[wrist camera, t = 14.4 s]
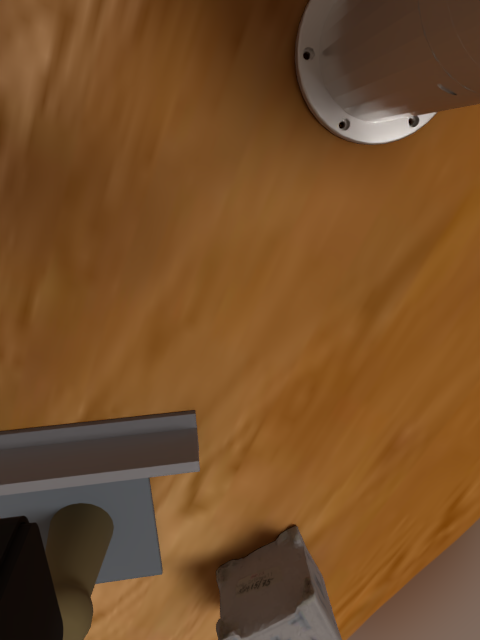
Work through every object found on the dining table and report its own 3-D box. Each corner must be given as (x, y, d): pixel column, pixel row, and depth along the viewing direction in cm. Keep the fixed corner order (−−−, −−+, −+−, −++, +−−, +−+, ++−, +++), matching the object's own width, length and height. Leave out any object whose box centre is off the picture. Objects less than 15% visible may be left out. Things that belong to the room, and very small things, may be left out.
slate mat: (146, 457, 43) (145, 461, 43) (162, 569, 48) (162, 574, 47) (-8, 475, 42) (-11, 480, 41) (24, 589, 47) (22, 594, 46)
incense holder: (292, 515, 48) (320, 606, 38) (320, 567, 51) (353, 663, 41) (207, 554, 48) (215, 654, 38) (240, 604, 51) (255, 708, 41)
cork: (126, 521, 45) (110, 629, 34) (90, 561, 46) (63, 678, 35) (73, 492, 43) (39, 597, 33) (36, 535, 44) (-8, 650, 34)
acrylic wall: (195, 410, 42) (197, 445, 37) (198, 446, 44) (201, 486, 38) (-56, 437, 40) (-92, 479, 35) (-44, 475, 41) (-77, 520, 36)
